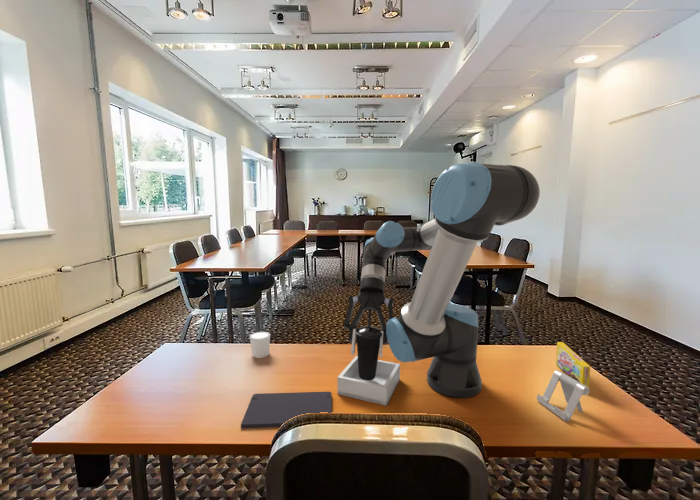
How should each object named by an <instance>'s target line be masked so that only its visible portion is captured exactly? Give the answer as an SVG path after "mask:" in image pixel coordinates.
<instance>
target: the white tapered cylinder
mask: <svg viewBox="0 0 700 500" xmlns="http://www.w3.org/2000/svg"><path fill="white" fill-rule="evenodd" d="M249 341H250V347H251V354H252V357H253V358H257V359H262V358H266V357H267V356H269V354H270V343H271V342H270V341H271V333H270V332H268V331H257V332H254V333H251V334H249Z"/></svg>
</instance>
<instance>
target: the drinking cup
mask: <svg viewBox="0 0 700 500" xmlns="http://www.w3.org/2000/svg"><path fill="white" fill-rule="evenodd" d="M371 318H372V310H368V319H367V325H364V326H360V327H356V331H355V333H356V349H357V350H356V351H357V356H358V372H359V377H360V378H361V379H362V380H367V381H368V380H373V379H374V378H375V376H376V369H377V362H378V360H379V350H380V337H381V336H382V333H381V331H383V330H382V328H381V329H380V328H379V327H376V326H374V325H373V326H372V325H371V321H372V319H371Z"/></svg>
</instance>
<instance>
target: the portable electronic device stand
mask: <svg viewBox="0 0 700 500" xmlns="http://www.w3.org/2000/svg"><path fill="white" fill-rule="evenodd" d="M558 382H559V383H560V385H561V389H562V393H563V396H564V399H565V401H566V402H565V403H567V404H566V406H565V409H564V411H563V410H562V409H560V407H557V406H554V405H553V404H552V403H550V400H551V398H552V396H553V393H554V391H555V389H556V387H557V385H558ZM588 394H590V387H589V388H588V387H587V386H585V385H583V384H581V383H580V382H578V381H576V380H574V379H573V378H571V377H569V376H568V375H566V374H564V373H563V372H562V371H561V370H560V369H559V370H558V369H556V370H555V371H554V372H553V373H552V376H551V378H550V380H549V382H548V385H547V387H546V389H545V391H544V393H543V395H540V394H536V395H537V396H536V401H537V402H539V403H540V404H541V405H543V406H544V407H545V408H547V410H549V411H551V412H552V413H554V415H556V416H558V417H559V418H560V419H561V420H562V421H564V422H565V423H567V422H570V421H571V419H572V416H573V414H574V412H575V410H576V409H577V411H578V412H581V413H583V412H584V411H583V407H582V404H581V400H580V399H581V397H582V396H587V395H588Z"/></svg>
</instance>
